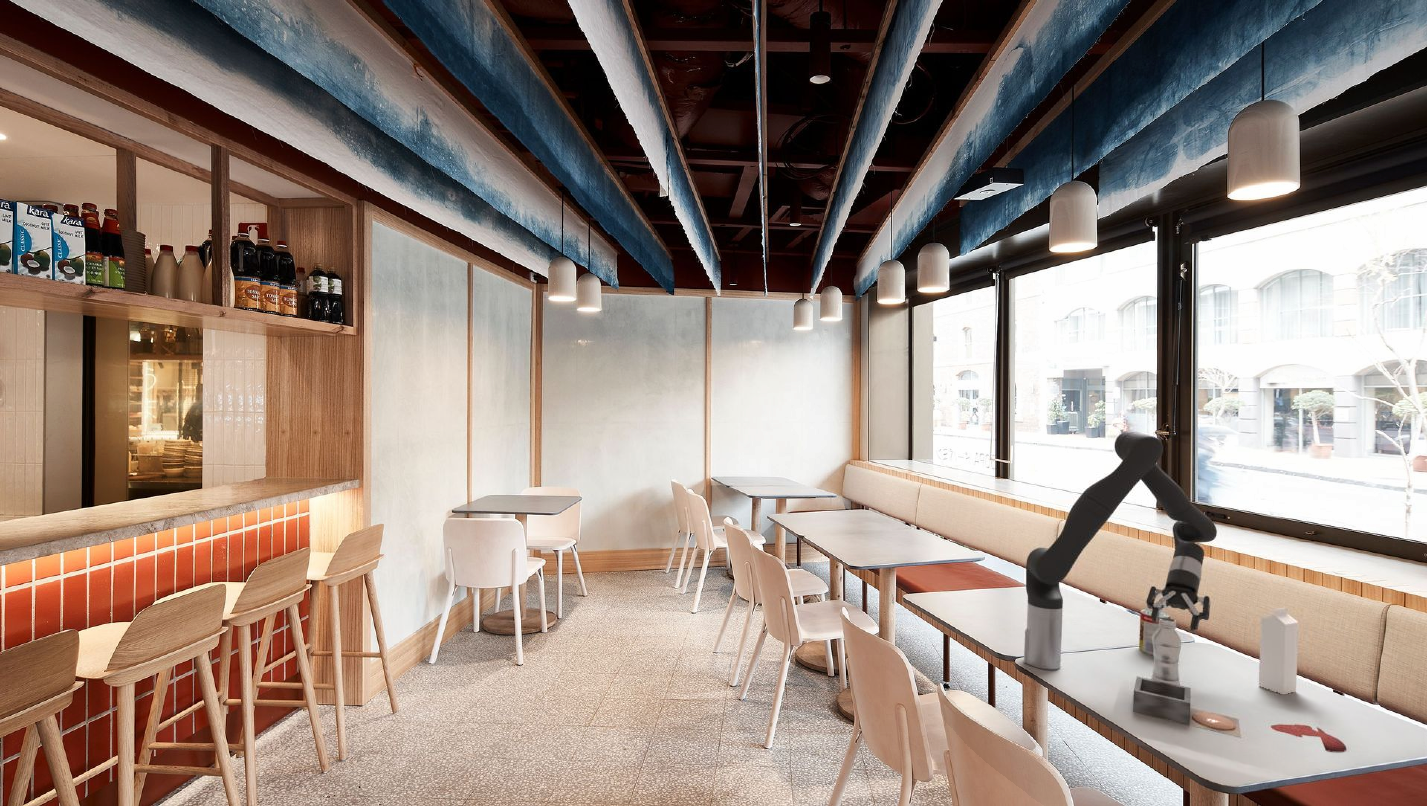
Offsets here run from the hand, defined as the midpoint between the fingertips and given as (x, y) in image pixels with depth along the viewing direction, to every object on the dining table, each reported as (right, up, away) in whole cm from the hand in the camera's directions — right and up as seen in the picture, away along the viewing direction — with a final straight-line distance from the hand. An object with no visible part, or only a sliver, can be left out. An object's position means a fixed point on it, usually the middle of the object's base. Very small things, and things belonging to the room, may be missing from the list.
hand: (1173, 625), depth 189 cm
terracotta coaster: (-6, -15, -23) cm, 28 cm away
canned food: (+13, -18, +30) cm, 37 cm away
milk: (+30, -18, +2) cm, 35 cm away
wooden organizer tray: (-10, -17, -20) cm, 28 cm away
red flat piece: (+11, -18, -26) cm, 34 cm away
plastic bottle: (-5, -17, -5) cm, 19 cm away
